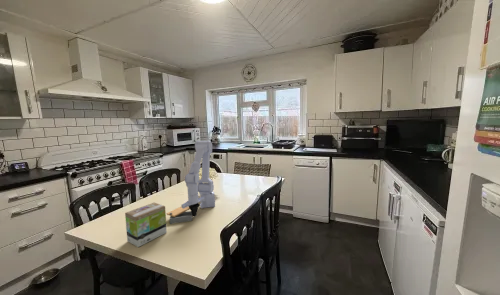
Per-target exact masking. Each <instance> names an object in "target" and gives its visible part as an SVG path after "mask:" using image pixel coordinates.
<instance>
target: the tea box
mask: <svg viewBox="0 0 500 295" xmlns="http://www.w3.org/2000/svg"><path fill="white" fill-rule="evenodd" d="M124 214H125V215H124V216H125V217H124V218H125V229H126V240H127V242H128V243H130V244H132V245H134V246H135V247H137V248H139V247H141V246H144V245H146V244H147V243H149V242H151V241H153V240H155V239H156V238H158V237H161V236H163V235H165V234H167V217H166V216H167V212H166V206H165V205H162V204H160V203H157V202H151V203H148V204H146V205H143V206H141V207H137V208H135V209H132V210H129V211H126V212H125V213H124Z"/></svg>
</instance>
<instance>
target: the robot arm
mask: <svg viewBox="0 0 500 295" xmlns="http://www.w3.org/2000/svg"><path fill="white" fill-rule="evenodd" d="M194 147H195V148H194V150H195V156H194V160H193V162H191V164H190V168H189V170H188V173H187V174H185V178H184V182H185V185H186V187H187V198H188V199H187V200H188V201H185V202H184V203H182V204H180V205H181V206H182V208H183V209H184V208H185V207H189V208H190V209H189V211H191V212H192V215H193V217H194V218H195V217H197V212H198V209H199V208H200V209H205V208H214V207H216V199H215V198H216V196H215V191H214V188H215V187H214V186H215V185H214V181H213V180H212V179H211V177H210V167H211V166H210V164H211V163H210V162H211V161H210V160H211V159H210V158H211V154H213V143H212V141H211V140H196V141H195V143H194ZM201 161H202V162H201ZM200 170H201V179H200ZM199 195H200V197H199ZM181 206H180V207H181Z"/></svg>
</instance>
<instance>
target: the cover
mask: <svg viewBox="0 0 500 295" xmlns="http://www.w3.org/2000/svg"><path fill="white" fill-rule="evenodd" d="M188 211H190V208H189V207H185V208H184V209H183V208H182V206H179V207H177V208H175V209H172V210H170V211H168V212H166V216H169V217H170V216H173V217H175V216H177V215H179V214H181V213H183V212H188Z"/></svg>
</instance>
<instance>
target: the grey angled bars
mask: <svg viewBox="0 0 500 295" xmlns="http://www.w3.org/2000/svg"><path fill="white" fill-rule="evenodd" d="M190 214H192V212H191V210H187V211H185V212H183V213H181V214H179V215H177V216H175V217H173V216H169V224H170V225H172V224H177V223H178V224H180V223H185V222H192V221H193V217H192V215H190ZM184 215H189V216H184ZM179 216H182V217H179Z"/></svg>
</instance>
